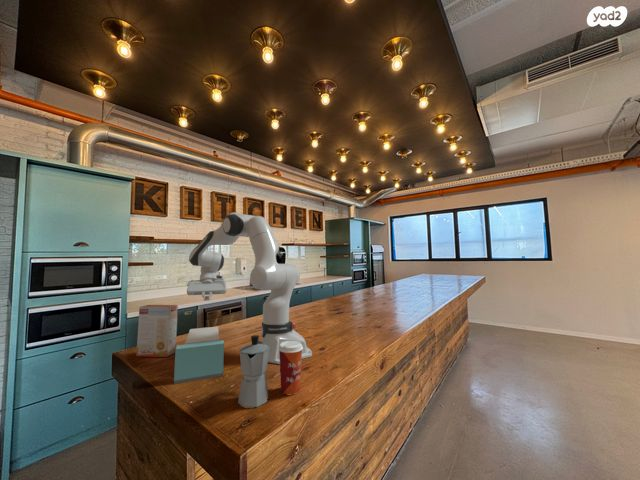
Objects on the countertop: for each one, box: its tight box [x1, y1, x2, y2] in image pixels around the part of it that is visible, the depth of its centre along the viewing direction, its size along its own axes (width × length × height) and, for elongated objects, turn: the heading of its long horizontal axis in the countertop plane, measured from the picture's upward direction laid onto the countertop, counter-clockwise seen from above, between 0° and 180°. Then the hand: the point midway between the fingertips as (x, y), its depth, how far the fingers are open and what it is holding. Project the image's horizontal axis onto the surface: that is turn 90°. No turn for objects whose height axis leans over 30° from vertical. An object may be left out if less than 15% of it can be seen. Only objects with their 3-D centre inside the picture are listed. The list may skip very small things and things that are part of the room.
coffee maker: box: [237, 334, 270, 409], centre depth 73 cm, size 15×9×18 cm, turn 5°
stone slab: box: [184, 326, 220, 345], centre depth 107 cm, size 12×22×4 cm, turn 23°
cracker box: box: [135, 304, 179, 358], centre depth 108 cm, size 14×6×21 cm, turn 84°
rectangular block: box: [173, 339, 225, 385], centre depth 103 cm, size 15×39×11 cm, turn 23°
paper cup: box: [278, 341, 303, 395], centre depth 77 cm, size 8×8×14 cm
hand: (206, 299), depth 134 cm, fingers closed
